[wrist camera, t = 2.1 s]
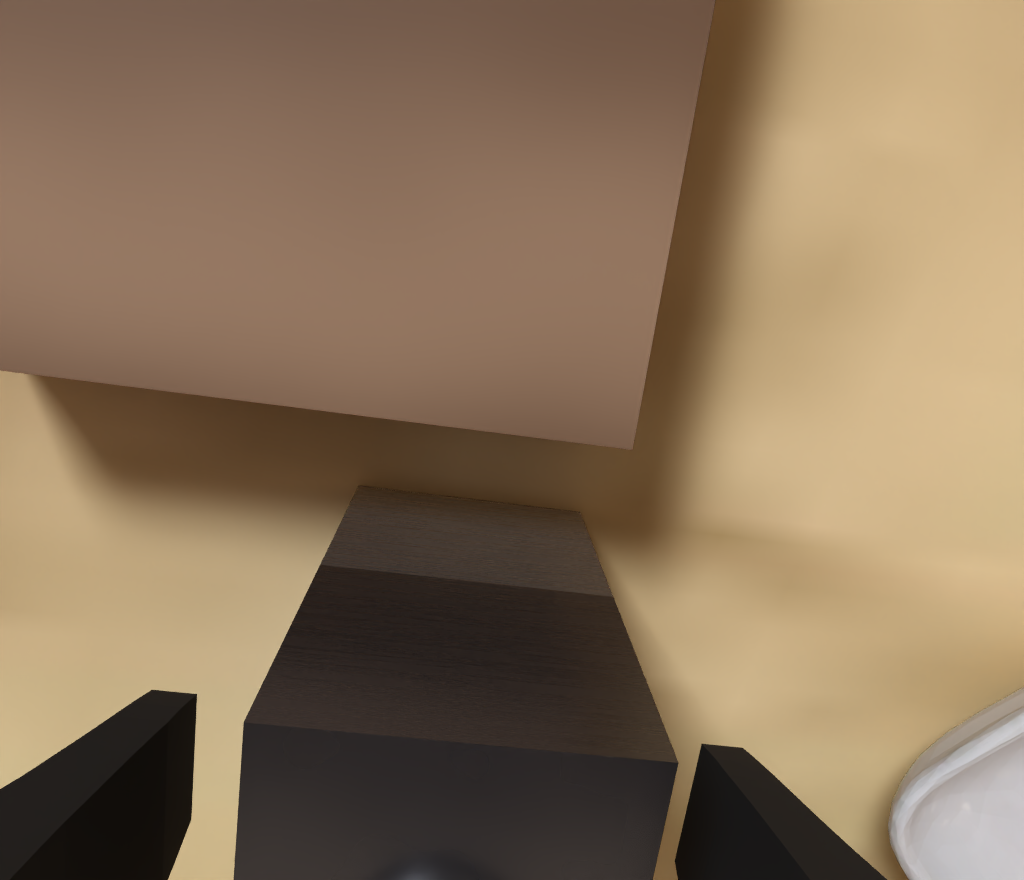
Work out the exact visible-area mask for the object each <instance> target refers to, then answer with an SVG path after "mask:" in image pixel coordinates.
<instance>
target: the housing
mask: <svg viewBox="0 0 1024 880" xmlns="http://www.w3.org/2000/svg"><path fill="white" fill-rule="evenodd" d="M677 767H678V761H677V758H676V756H675V753H674V750H673V748H672V745H671V743H670V740H669V738H668V735H667V733H666V730H665V728H664V725H663V722H662V720H661V717H660V715H659V712H658V710H657V707H656V705H655V702H654V700H653V697H652V694H651V692H650V689H649V687H648V684H647V682H646V679H645V677H644V674H643V672H642V669H641V666H640V664H639V661H638V659H637V656H636V654H635V651H634V649H633V646H632V644H631V641H630V639H629V636H628V633H627V631H626V628H625V626H624V623H623V621H622V618H621V616H620V613H619V611H618V608H617V605H616V603H615V600H614V598H613V595H612V593H611V590H610V588H609V585H608V583H607V580H606V577H605V575H604V572H603V570H602V567H601V565H600V562H599V560H598V557H597V555H596V552H595V549H594V547H593V544H592V542H591V539H590V537H589V534H588V532H587V529H586V527H585V524H584V521H583V519H582V516H581V514H580V512H576V511H568V510H559V509H551V508H542V507H534V506H525V505H517V504H509V503H500V502H492V501H483V500H475V499H466V498H458V497H450V496H441V495H433V494H424V493H416V492H407V491H399V490H390V489H382V488H374V487H365V486H358V488H357V490H356V492H355V494H354V496H353V498H352V500H351V502H350V505H349V507H348V509H347V511H346V513H345V515H344V517H343V519H342V521H341V523H340V525H339V527H338V529H337V531H336V533H335V535H334V538H333V540H332V542H331V544H330V546H329V548H328V550H327V552H326V554H325V556H324V558H323V560H322V562H321V564H320V566H319V568H318V571H317V573H316V575H315V577H314V579H313V581H312V583H311V585H310V587H309V589H308V591H307V593H306V595H305V597H304V599H303V601H302V604H301V606H300V608H299V610H298V612H297V614H296V616H295V618H294V620H293V622H292V624H291V626H290V628H289V630H288V632H287V634H286V636H285V639H284V641H283V643H282V645H281V647H280V649H279V651H278V653H277V655H276V657H275V659H274V661H273V663H272V665H271V667H270V669H269V672H268V674H267V676H266V678H265V680H264V682H263V684H262V686H261V688H260V690H259V692H258V694H257V696H256V698H255V700H254V702H253V705H252V707H251V709H250V711H249V713H248V715H247V717H246V719H245V721H244V728H243V743H242V759H241V774H240V790H239V805H238V821H237V837H236V852H235V868H234V880H653V875H654V871H655V866H656V862H657V857H658V853H659V848H660V843H661V839H662V834H663V830H664V825H665V821H666V816H667V812H668V807H669V803H670V798H671V794H672V789H673V785H674V780H675V776H676V771H677Z"/></svg>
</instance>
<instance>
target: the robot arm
mask: <svg viewBox="0 0 1024 880" xmlns="http://www.w3.org/2000/svg"><path fill="white" fill-rule="evenodd" d="M196 703H197V694H189V693H179V692H169V691H159V690H151V691H150V692H148V693H146V694H145V695H143V696H142V697H140V698H138V699H137V700H135V701H134V702H132V703H131V704H129V705H128V706H126V707H125V708H124V709H122V710H121V711H119V712H118V713H116V714H115V715H113V716H112V717H110V718H109V719H107V720H106V721H104V722H103V723H102V724H100V725H99V726H97V727H96V728H94V729H93V730H91V731H90V732H88V733H87V734H85V735H84V736H82V737H81V738H79V739H78V740H76V741H75V742H73V743H72V744H70V745H69V746H67V747H66V748H64V749H63V750H61V751H60V752H58V753H57V754H55V755H54V756H52V757H51V758H49V759H48V760H46V761H44V762H43V763H41V764H40V765H38V766H37V767H35V768H34V769H32V770H31V771H29V772H28V773H26V774H25V775H23V776H21V777H20V778H18V779H16V780H15V781H13V782H11V783H10V784H8V785H6V786H5V787H3V788H2V789H0V880H168V878H169V875H170V873H171V870H172V868H173V865H174V863H175V860H176V858H177V855H178V853H179V850H180V847H181V845H182V842H183V839H184V837H185V834H186V832H187V829H188V826H189V824H190V821H191V813H192V791H193V769H194V747H195V725H196ZM675 864H676V870H677V875H678V880H887V879H886V878H885V877H884V876H882V875H881V874H880V873H879V872H878V871H877V870H876V869H874V868H873V867H872V866H871V865H870V864H869V863H868V862H867V861H865V860H864V859H863V858H862V857H861V856H860V855H859V854H858V853H856V852H855V851H854V850H853V849H852V848H851V847H850V846H849V845H848V844H846V843H845V842H844V841H843V840H842V839H841V838H840V837H839V836H838V835H837V834H836V833H834V832H833V831H832V830H831V829H830V828H829V827H828V826H827V825H826V824H825V823H824V822H823V821H822V820H820V819H819V818H818V817H817V816H816V815H815V814H814V813H813V812H812V811H811V810H810V809H809V808H808V807H807V806H806V805H805V804H803V803H802V802H801V801H800V800H799V799H798V798H797V797H796V796H795V795H794V794H793V793H792V792H791V791H790V790H789V789H788V788H787V787H785V786H784V785H783V784H782V783H781V782H780V781H779V780H778V779H777V778H776V777H775V776H774V775H773V774H772V773H771V772H769V771H768V770H767V769H766V768H765V767H764V766H763V765H762V764H761V763H760V762H758V761H757V760H756V759H755V758H754V757H753V756H752V755H750V754H749V753H748V752H747V751H746V750H745V749H743V748H738V747H728V746H718V745H708V744H702V746H701V750H700V754H699V759H698V763H697V767H696V772H695V776H694V780H693V785H692V789H691V793H690V798H689V802H688V806H687V811H686V815H685V819H684V824H683V828H682V832H681V837H680V841H679V845H678V850H677V854H676V858H675Z"/></svg>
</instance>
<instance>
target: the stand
mask: <svg viewBox="0 0 1024 880" xmlns="http://www.w3.org/2000/svg"><path fill="white" fill-rule="evenodd" d="M714 6H715V0H0V370H1V371H9V372H17V373H25V374H33V375H41V376H49V377H57V378H65V379H73V380H81V381H89V382H97V383H105V384H113V385H121V386H129V387H137V388H145V389H152V390H160V391H168V392H176V393H184V394H192V395H200V396H208V397H216V398H224V399H232V400H240V401H248V402H256V403H264V404H272V405H280V406H288V407H295V408H303V409H311V410H319V411H327V412H335V413H343V414H351V415H359V416H367V417H375V418H383V419H391V420H399V421H407V422H415V423H423V424H431V425H438V426H446V427H454V428H462V429H470V430H478V431H486V432H494V433H502V434H510V435H518V436H526V437H534V438H542V439H550V440H558V441H566V442H574V443H581V444H589V445H597V446H605V447H613V448H621V449H629V450H633V445H634V439H635V434H636V428H637V423H638V418H639V412H640V407H641V401H642V396H643V390H644V385H645V380H646V374H647V369H648V363H649V358H650V353H651V347H652V342H653V336H654V331H655V325H656V320H657V315H658V309H659V304H660V298H661V293H662V287H663V282H664V277H665V271H666V266H667V260H668V255H669V250H670V244H671V239H672V233H673V228H674V222H675V217H676V212H677V206H678V201H679V195H680V190H681V185H682V179H683V174H684V168H685V163H686V157H687V152H688V147H689V141H690V136H691V130H692V125H693V119H694V114H695V109H696V103H697V98H698V92H699V87H700V82H701V76H702V71H703V65H704V60H705V54H706V49H707V44H708V38H709V33H710V27H711V22H712V17H713V11H714Z"/></svg>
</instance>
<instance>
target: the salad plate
mask: <svg viewBox="0 0 1024 880" xmlns="http://www.w3.org/2000/svg"><path fill="white" fill-rule="evenodd" d="M888 832H889V838H890V844H891V847H892V849H893V851H894V854H895V856H896V858H897V861H898V862H899V864H900V866H901V867H902V869H903V871H904V872H905V874H906V876H907V877H908V879H909V880H1024V687H1023V688H1021V689H1019V690H1018V691H1016V692H1014V693H1012V694H1010V695H1009V696H1007V697H1005V698H1003V699H1002V700H1000V701H998V702H996V703H994V704H993V705H991V706H989V707H987V708H985V709H984V710H982V711H980V712H978V713H977V714H975V715H973V716H972V717H970V718H969V719H967V720H966V721H964V722H962V723H961V724H959V725H958V726H956V727H955V728H953V729H951V730H950V731H948V732H947V733H945V734H944V735H943V736H942V737H941V738H939V739H938V740H937V741H936V742H935V743H934V744H932V745H931V746H930V747H929V748H928V749H927V750H925V751H924V752H923V753H922V754H921V755H920V756H919V757H918V759H917V760H916V761H915V762H914V764H913V765H912V766H911V767H910V769H909V770H908V772H907V773H906V775H905V776H904V778H903V779H902V781H901V783H900V785H899V787H898V789H897V792H896V794H895V796H894V798H893V800H892V804H891V810H890V815H889V821H888Z"/></svg>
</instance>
